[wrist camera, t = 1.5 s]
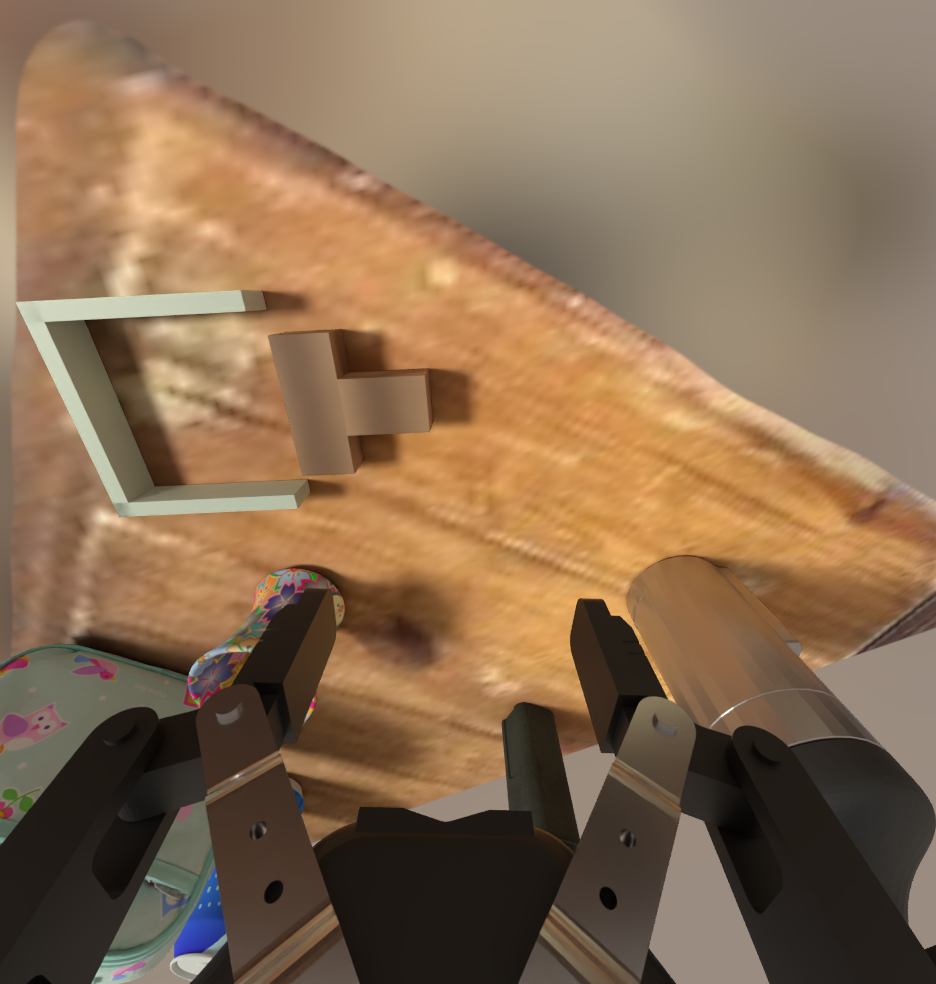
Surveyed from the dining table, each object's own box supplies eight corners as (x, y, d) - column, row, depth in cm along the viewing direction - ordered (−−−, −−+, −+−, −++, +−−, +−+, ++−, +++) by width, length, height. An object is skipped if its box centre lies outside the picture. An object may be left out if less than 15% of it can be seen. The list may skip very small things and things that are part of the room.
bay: (262, 290, 28) (240, 290, 25) (310, 492, 34) (297, 508, 32) (59, 301, 28) (15, 302, 25) (146, 499, 35) (119, 516, 32)
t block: (425, 324, 29) (420, 327, 26) (436, 456, 33) (433, 470, 30) (286, 332, 29) (267, 335, 26) (316, 461, 33) (302, 475, 31)
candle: (519, 700, 46) (571, 1084, 24) (557, 712, 47) (642, 1093, 25) (498, 726, 48) (527, 1104, 26) (535, 737, 49) (594, 1111, 27)
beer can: (272, 812, 56) (205, 992, 41) (228, 781, 52) (139, 965, 38) (320, 795, 54) (268, 976, 40) (279, 762, 51) (205, 946, 36)
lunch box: (300, 702, 46) (182, 994, 27) (273, 751, 50) (153, 1037, 31) (42, 617, 40) (-346, 911, 21) (34, 681, 44) (-298, 977, 25)
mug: (238, 568, 38) (161, 660, 28) (332, 551, 37) (286, 639, 28) (288, 658, 43) (237, 762, 33) (371, 645, 42) (344, 747, 33)
